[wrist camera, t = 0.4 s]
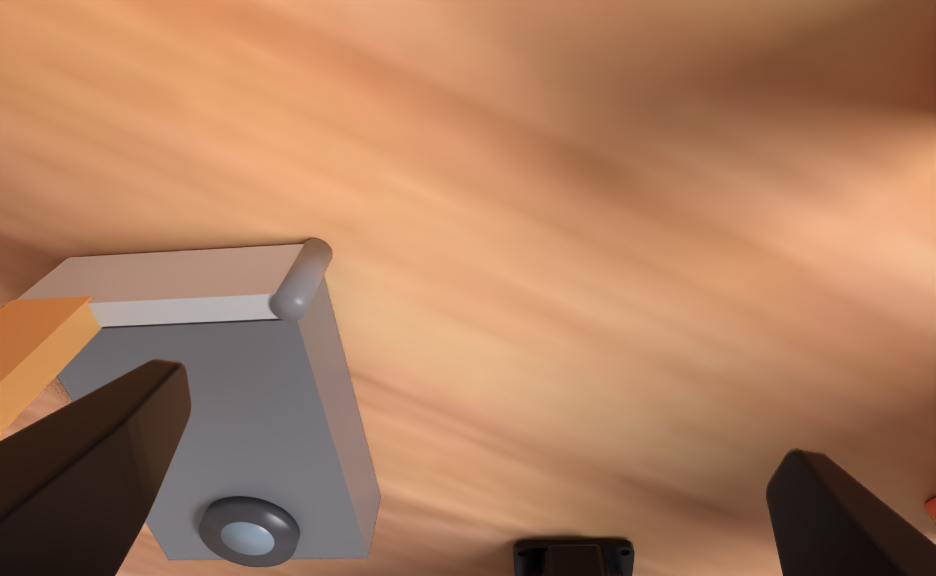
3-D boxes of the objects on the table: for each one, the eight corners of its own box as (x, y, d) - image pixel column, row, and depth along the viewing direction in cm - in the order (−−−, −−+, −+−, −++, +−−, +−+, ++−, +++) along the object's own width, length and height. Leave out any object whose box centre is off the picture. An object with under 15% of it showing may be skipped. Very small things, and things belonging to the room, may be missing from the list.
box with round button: (381, 496, 31) (365, 570, 28) (199, 500, 32) (162, 572, 28) (322, 268, 24) (291, 330, 20) (86, 281, 24) (18, 343, 21)
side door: (335, 264, 23) (257, 432, 16) (83, 278, 24) (-104, 443, 17) (328, 237, 23) (244, 399, 15) (70, 252, 24) (-130, 412, 16)
